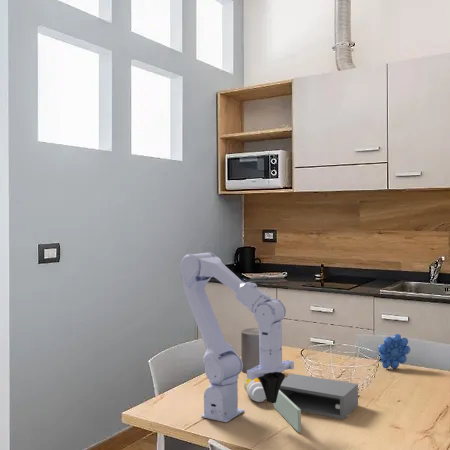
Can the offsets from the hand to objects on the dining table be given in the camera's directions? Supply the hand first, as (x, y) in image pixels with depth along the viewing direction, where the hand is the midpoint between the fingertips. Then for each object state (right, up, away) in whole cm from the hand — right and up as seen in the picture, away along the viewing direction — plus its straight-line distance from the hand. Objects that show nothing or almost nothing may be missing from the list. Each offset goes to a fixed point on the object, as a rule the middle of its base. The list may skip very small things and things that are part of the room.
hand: (271, 402), depth 135 cm
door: (+4, -6, +4) cm, 8 cm away
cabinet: (+14, -6, +14) cm, 20 cm away
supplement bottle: (-4, -3, +25) cm, 26 cm away
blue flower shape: (+46, -5, +50) cm, 69 cm away
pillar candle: (-1, -6, +49) cm, 49 cm away
